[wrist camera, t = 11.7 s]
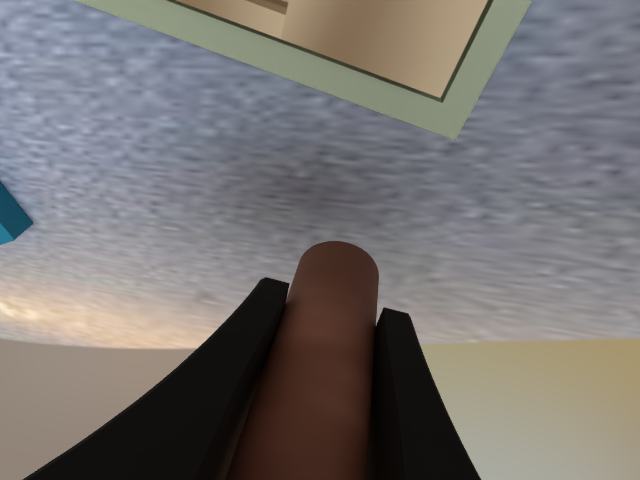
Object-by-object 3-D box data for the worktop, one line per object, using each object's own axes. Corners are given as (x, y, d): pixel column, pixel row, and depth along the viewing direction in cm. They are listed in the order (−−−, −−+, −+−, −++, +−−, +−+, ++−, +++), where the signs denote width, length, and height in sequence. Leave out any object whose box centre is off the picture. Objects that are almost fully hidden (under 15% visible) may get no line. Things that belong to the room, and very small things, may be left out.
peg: (392, 258, 11) (387, 585, 5) (361, 313, 12) (328, 616, 6) (311, 229, 10) (210, 528, 5) (289, 288, 12) (192, 573, 6)
